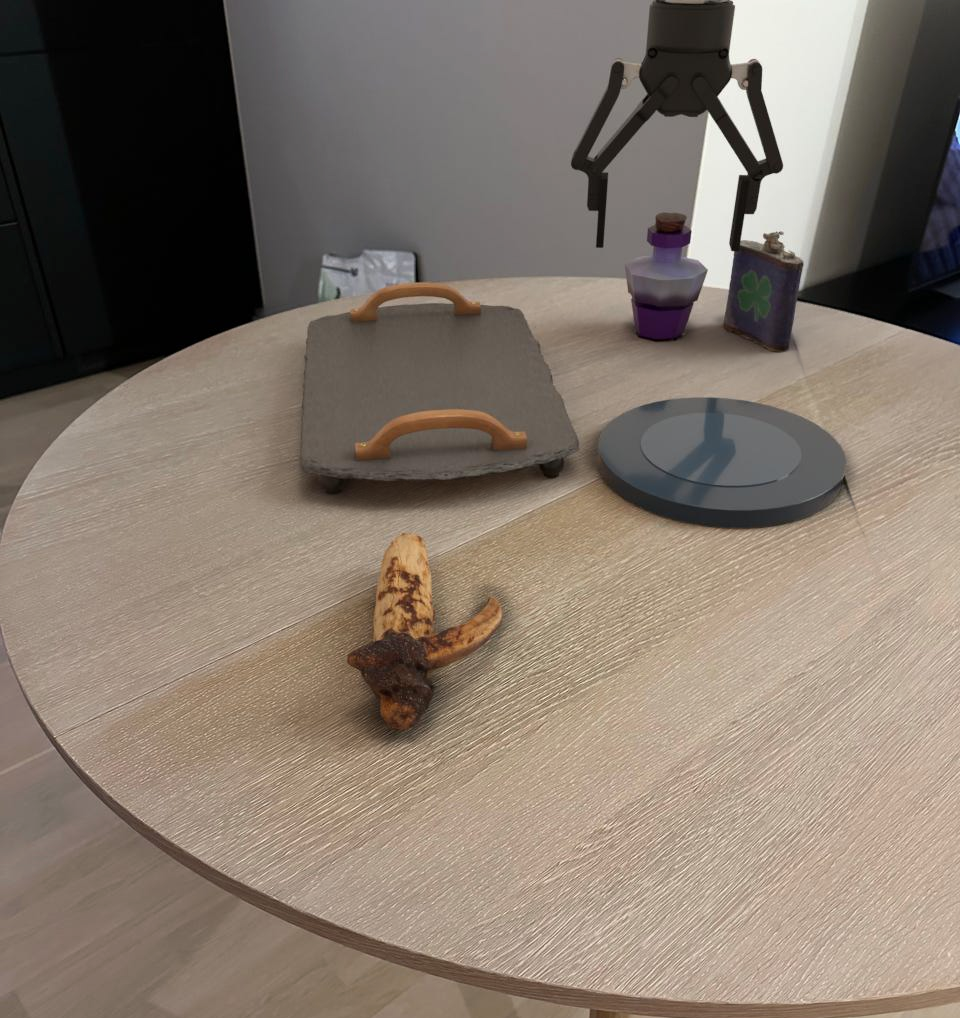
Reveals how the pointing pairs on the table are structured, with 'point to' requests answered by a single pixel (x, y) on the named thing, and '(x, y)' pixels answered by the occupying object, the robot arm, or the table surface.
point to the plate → (721, 462)
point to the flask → (763, 292)
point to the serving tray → (428, 393)
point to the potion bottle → (664, 281)
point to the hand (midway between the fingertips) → (666, 246)
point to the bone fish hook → (413, 635)
